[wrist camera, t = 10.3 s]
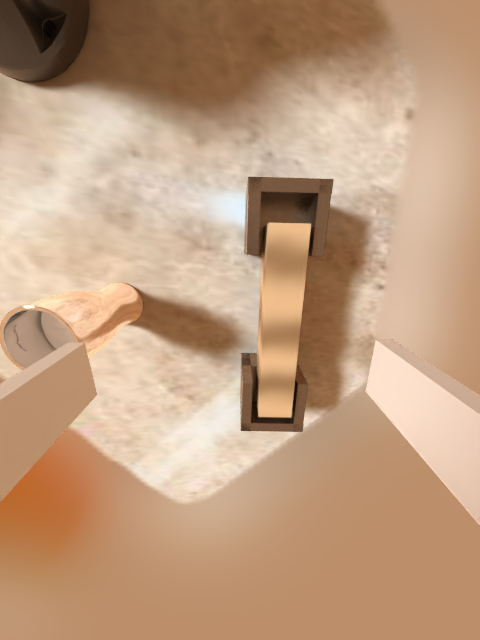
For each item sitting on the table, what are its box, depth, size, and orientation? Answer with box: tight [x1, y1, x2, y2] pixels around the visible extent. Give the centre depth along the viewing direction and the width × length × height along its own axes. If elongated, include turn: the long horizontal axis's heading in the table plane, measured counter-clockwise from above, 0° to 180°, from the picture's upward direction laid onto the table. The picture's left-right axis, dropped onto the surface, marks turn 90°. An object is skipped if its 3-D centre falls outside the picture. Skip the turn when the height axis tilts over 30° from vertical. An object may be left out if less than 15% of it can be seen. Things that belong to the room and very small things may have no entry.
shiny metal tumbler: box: [0, 283, 143, 370], centre depth 27 cm, size 7×7×15 cm
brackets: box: [240, 177, 333, 432], centre depth 31 cm, size 29×8×8 cm, turn 179°
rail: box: [256, 223, 311, 418], centre depth 28 cm, size 22×4×6 cm, turn 179°
